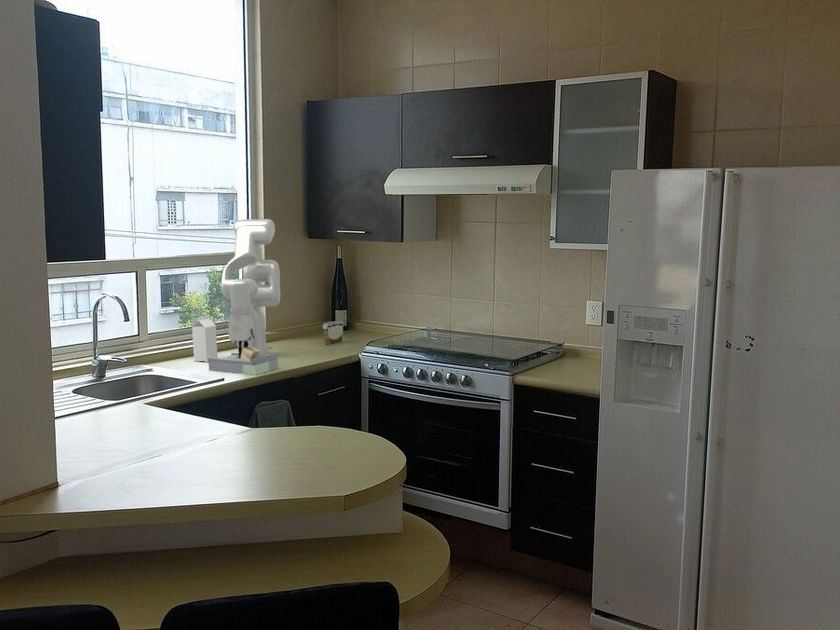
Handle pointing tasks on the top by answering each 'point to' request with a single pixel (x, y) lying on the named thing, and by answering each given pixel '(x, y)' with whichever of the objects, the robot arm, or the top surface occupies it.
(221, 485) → the top surface
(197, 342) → the milk carton
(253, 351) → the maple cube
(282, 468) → the top surface
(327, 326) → the food container
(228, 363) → the two-pit board
